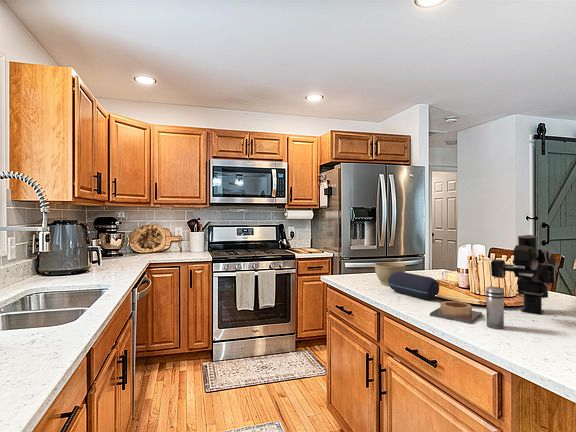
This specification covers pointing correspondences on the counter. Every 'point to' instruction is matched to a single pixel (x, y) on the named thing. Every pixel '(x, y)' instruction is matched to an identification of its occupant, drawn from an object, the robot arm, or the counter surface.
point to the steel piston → (495, 307)
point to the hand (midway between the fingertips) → (515, 277)
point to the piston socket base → (456, 312)
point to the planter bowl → (387, 270)
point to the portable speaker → (414, 285)
